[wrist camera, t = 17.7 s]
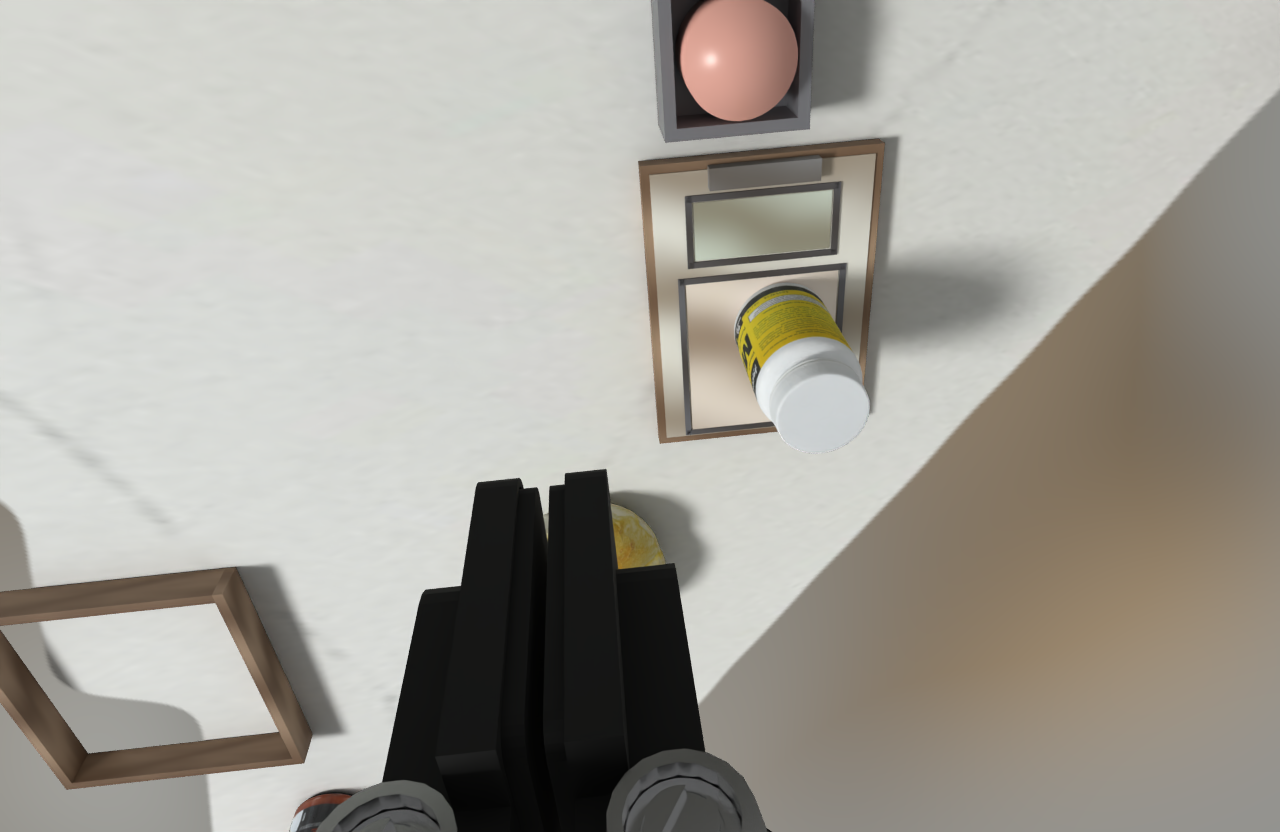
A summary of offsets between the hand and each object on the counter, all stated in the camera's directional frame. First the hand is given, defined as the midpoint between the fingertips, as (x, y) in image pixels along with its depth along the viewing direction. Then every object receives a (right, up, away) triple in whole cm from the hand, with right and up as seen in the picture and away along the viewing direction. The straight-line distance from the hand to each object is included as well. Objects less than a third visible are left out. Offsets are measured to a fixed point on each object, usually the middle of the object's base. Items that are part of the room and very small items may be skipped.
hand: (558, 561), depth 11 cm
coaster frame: (-30, -14, +41) cm, 53 cm away
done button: (+5, +17, +23) cm, 29 cm away
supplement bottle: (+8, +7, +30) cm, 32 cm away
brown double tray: (+7, +8, +30) cm, 32 cm away
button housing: (+5, +18, +24) cm, 30 cm away
